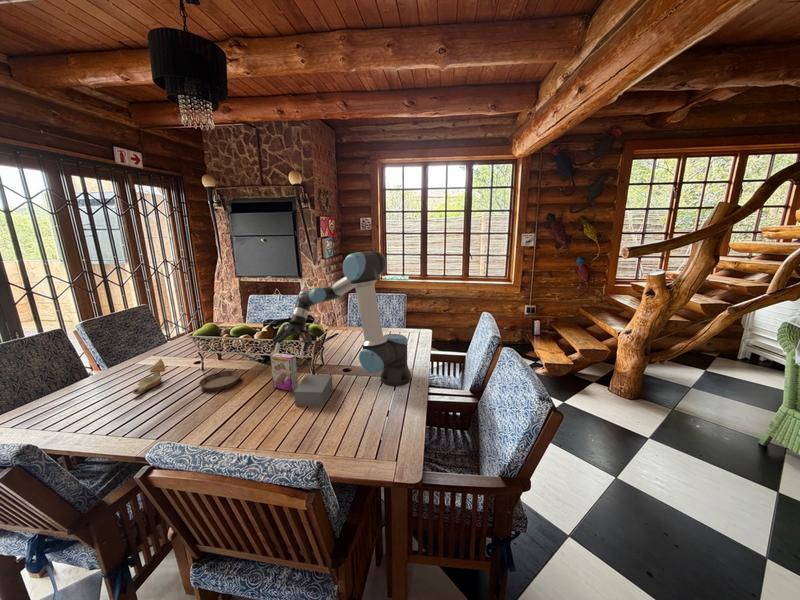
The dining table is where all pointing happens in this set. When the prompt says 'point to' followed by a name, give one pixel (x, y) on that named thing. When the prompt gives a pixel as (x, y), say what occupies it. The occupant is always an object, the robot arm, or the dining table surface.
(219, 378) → the plant saucer
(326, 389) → the charcoal block
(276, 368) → the candy bar box
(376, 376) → the dining table surface
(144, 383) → the oil lamp
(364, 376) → the dining table surface
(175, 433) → the dining table surface
